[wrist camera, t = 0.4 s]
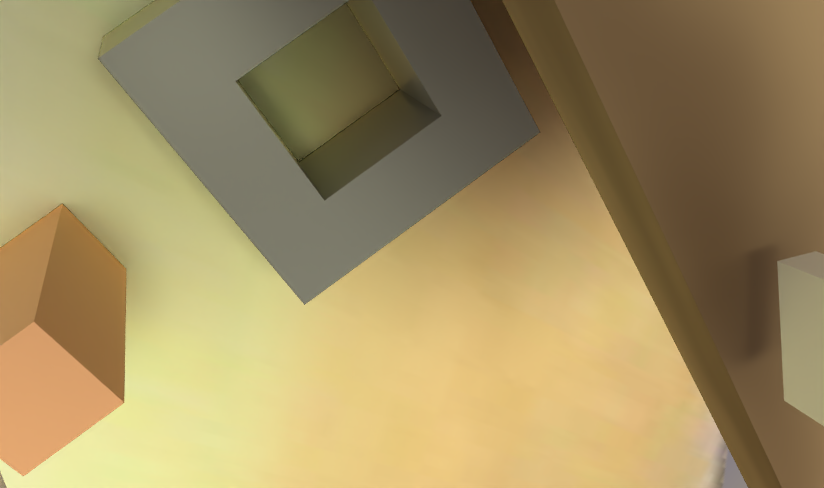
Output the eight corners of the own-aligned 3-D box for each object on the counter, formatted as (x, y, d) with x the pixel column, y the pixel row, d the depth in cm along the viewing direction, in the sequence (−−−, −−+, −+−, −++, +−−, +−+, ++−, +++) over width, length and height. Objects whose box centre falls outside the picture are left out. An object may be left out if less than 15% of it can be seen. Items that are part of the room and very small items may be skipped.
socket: (282, 254, 40) (304, 304, 35) (103, 36, 34) (97, 58, 28) (487, 104, 41) (540, 132, 36) (352, -139, 34) (391, -149, 29)
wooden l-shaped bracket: (446, 220, 43) (829, 590, 19) (196, -163, 32) (374, -387, 8) (629, 85, 43) (1220, 284, 20) (445, -336, 33) (1260, -996, 9)
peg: (53, 321, 38) (23, 476, 27) (-16, 258, 36) (-77, 401, 25) (126, 269, 38) (124, 402, 28) (62, 203, 36) (33, 321, 25)
